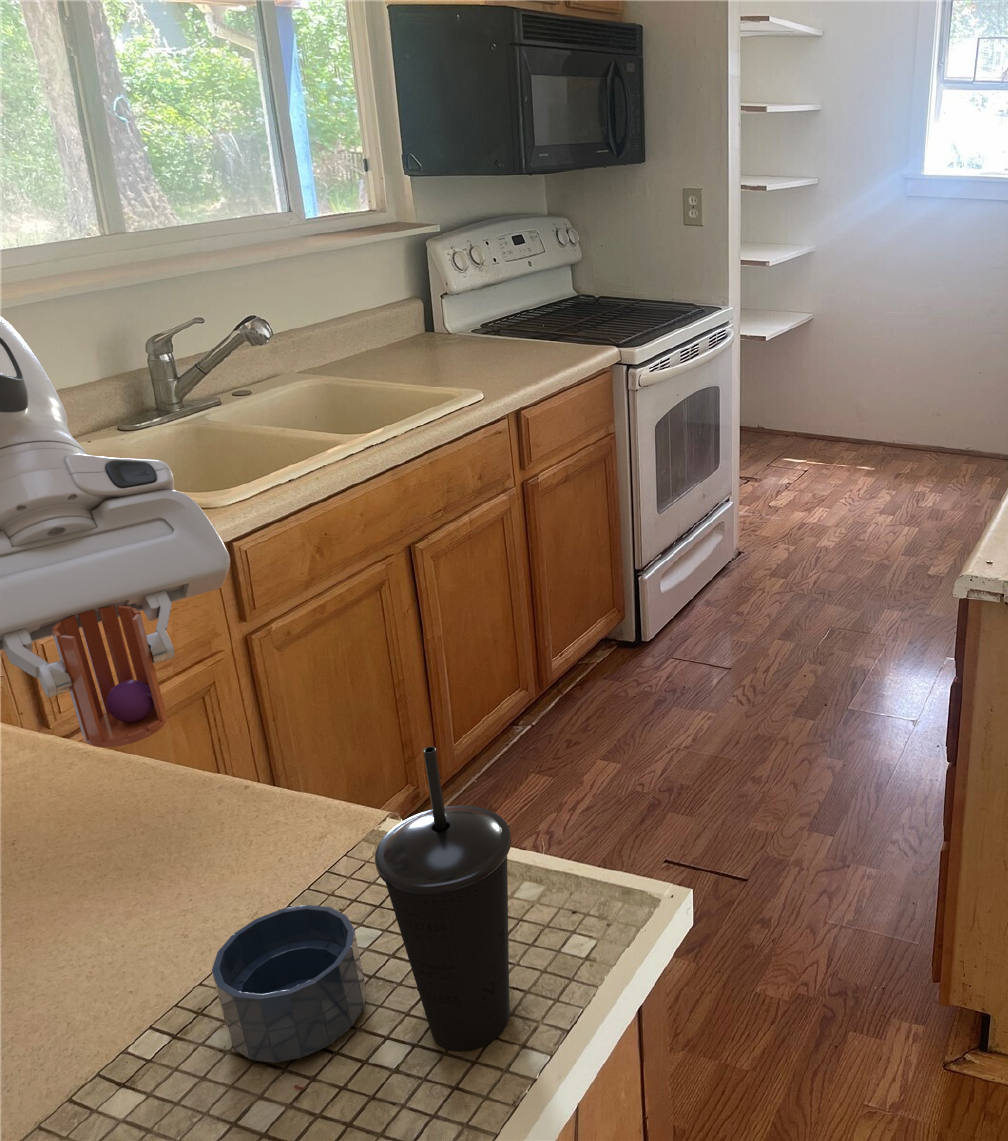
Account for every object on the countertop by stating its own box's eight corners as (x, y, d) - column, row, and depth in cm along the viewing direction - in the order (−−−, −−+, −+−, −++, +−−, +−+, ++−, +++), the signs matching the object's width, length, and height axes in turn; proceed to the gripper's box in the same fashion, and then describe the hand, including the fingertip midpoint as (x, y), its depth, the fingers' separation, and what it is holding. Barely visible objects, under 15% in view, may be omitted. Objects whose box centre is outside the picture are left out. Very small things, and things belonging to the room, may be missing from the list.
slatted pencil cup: (74, 728, 77) (42, 622, 73) (152, 702, 80) (125, 599, 77) (97, 756, 73) (65, 645, 70) (177, 727, 77) (150, 620, 73)
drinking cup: (401, 1081, 63) (347, 797, 55) (412, 987, 70) (366, 723, 62) (533, 1059, 65) (498, 779, 57) (531, 968, 71) (500, 708, 64)
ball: (97, 722, 74) (109, 681, 74) (105, 711, 77) (116, 672, 77) (145, 730, 76) (157, 690, 76) (151, 719, 78) (162, 680, 78)
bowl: (218, 1080, 63) (199, 1009, 61) (244, 983, 70) (227, 917, 68) (360, 1053, 65) (346, 983, 63) (371, 961, 72) (359, 896, 70)
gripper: (-150, 525, 68) (-69, 712, 65) (188, 457, 81) (266, 610, 79) (-138, 571, 72) (-63, 748, 70) (180, 499, 86) (253, 645, 83)
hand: (114, 674), depth 74 cm, fingers closed on slatted pencil cup, 5 cm apart
